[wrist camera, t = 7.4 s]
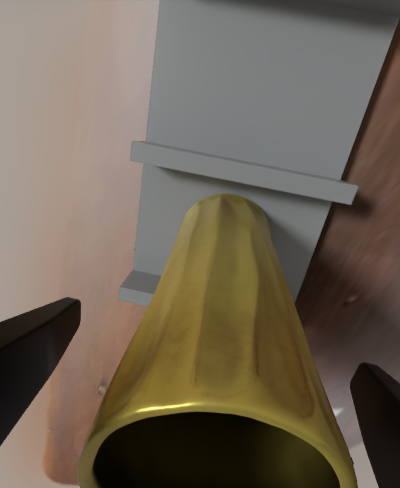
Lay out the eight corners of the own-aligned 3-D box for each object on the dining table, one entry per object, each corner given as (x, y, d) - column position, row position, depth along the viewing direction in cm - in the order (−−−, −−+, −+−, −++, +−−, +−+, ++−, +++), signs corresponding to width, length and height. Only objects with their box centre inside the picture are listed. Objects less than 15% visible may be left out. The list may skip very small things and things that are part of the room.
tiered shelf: (287, 309, 21) (297, 339, 18) (135, 276, 21) (118, 299, 18) (399, -1, 14) (448, -42, 11) (168, -41, 14) (150, -92, 11)
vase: (161, 226, 18) (-13, 453, 5) (238, 173, 17) (275, 311, 3) (212, 292, 20) (179, 600, 7) (288, 250, 18) (448, 556, 5)
